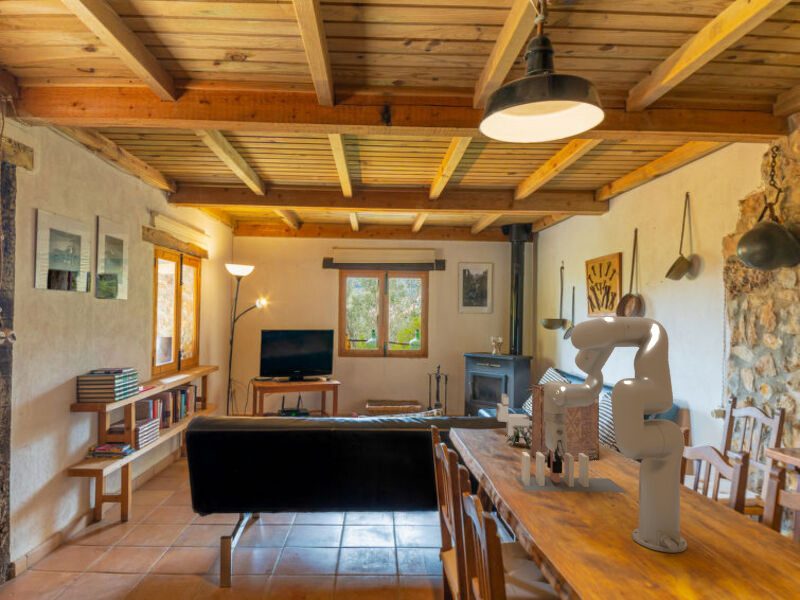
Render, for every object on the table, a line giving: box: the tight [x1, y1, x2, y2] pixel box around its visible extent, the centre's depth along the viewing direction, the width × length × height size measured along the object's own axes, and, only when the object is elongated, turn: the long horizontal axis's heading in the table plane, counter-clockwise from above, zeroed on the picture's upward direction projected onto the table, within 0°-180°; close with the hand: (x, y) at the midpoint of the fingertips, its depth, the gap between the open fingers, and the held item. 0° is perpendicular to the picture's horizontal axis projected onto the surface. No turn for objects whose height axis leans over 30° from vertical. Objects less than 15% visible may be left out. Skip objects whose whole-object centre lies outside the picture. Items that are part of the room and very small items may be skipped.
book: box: [531, 383, 600, 463], centre depth 205 cm, size 25×9×30 cm, turn 101°
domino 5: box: [578, 453, 590, 487], centre depth 171 cm, size 5×2×10 cm, turn 0°
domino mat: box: [515, 476, 627, 493], centre depth 171 cm, size 14×34×1 cm, turn 90°
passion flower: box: [504, 425, 532, 449], centre depth 221 cm, size 11×11×12 cm
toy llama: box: [495, 392, 532, 437], centre depth 242 cm, size 8×18×20 cm, turn 85°
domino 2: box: [535, 452, 546, 486], centre depth 171 cm, size 5×2×10 cm, turn 0°
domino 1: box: [521, 451, 531, 486], centre depth 171 cm, size 5×2×10 cm, turn 0°
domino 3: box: [549, 450, 560, 482], centre depth 171 cm, size 5×2×10 cm, turn 0°
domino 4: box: [563, 453, 575, 487], centre depth 171 cm, size 5×2×10 cm, turn 0°
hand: (554, 469), depth 171 cm, fingers closed on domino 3, 4 cm apart
